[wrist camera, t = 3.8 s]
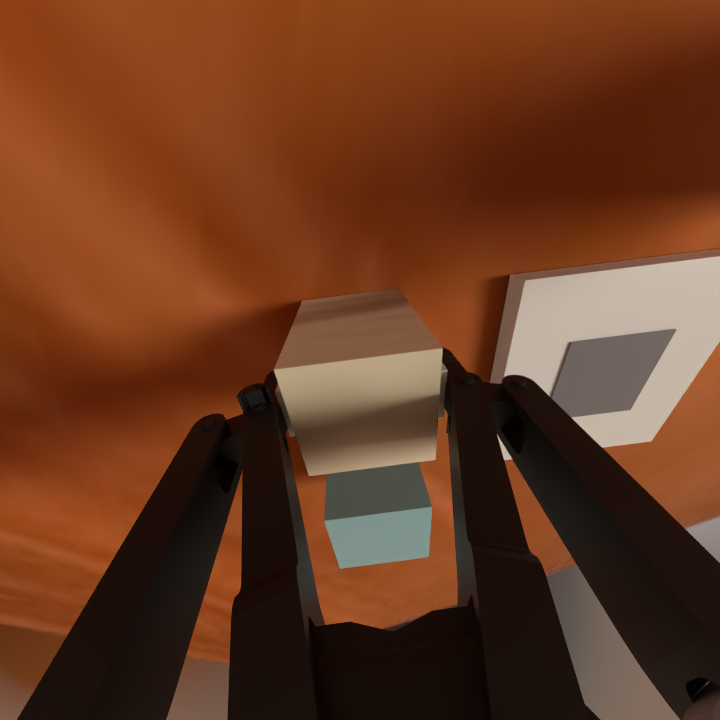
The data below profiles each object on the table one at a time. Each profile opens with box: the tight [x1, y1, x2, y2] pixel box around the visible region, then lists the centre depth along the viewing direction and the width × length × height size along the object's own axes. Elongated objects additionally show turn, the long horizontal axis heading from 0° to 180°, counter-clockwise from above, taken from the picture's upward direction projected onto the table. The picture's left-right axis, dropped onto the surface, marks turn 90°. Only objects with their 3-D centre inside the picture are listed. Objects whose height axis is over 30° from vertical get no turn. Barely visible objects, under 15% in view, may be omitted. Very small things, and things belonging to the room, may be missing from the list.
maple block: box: [274, 289, 443, 476], centre depth 14 cm, size 6×6×8 cm
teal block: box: [324, 462, 432, 569], centre depth 19 cm, size 6×6×8 cm
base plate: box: [490, 249, 720, 460], centre depth 19 cm, size 16×15×2 cm
